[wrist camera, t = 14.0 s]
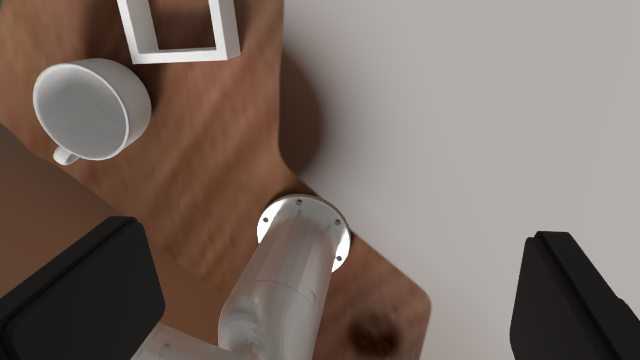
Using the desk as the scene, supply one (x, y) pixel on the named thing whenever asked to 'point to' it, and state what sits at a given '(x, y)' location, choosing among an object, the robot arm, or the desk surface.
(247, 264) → the robot arm
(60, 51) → the desk surface
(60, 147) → the teacup
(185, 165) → the desk surface
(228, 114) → the desk surface
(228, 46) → the bottle caddy
